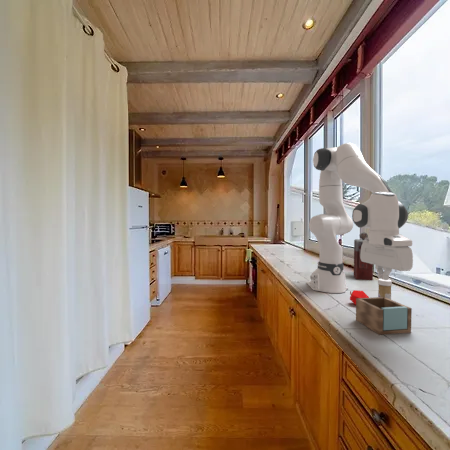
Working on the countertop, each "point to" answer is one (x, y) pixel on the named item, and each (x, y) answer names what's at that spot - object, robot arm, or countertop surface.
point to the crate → (378, 314)
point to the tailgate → (394, 318)
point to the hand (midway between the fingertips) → (383, 279)
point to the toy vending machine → (361, 268)
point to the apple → (357, 295)
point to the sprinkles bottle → (384, 288)
